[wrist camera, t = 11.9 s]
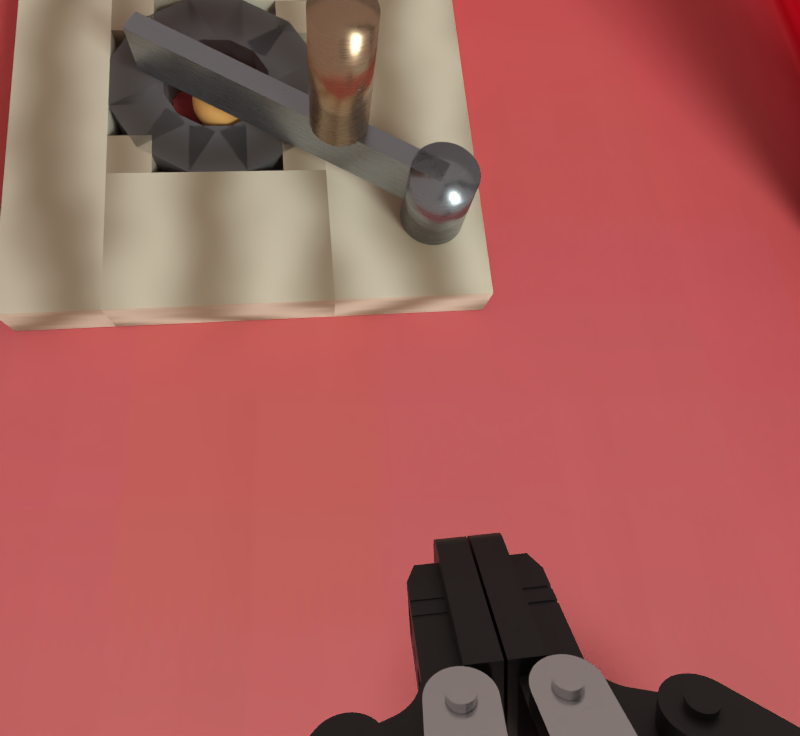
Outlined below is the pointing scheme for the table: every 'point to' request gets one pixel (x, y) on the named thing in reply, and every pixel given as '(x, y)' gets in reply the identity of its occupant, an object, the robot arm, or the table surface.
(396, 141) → the catapult lever
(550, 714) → the robot arm
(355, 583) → the table surface
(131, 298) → the board
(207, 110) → the ball
